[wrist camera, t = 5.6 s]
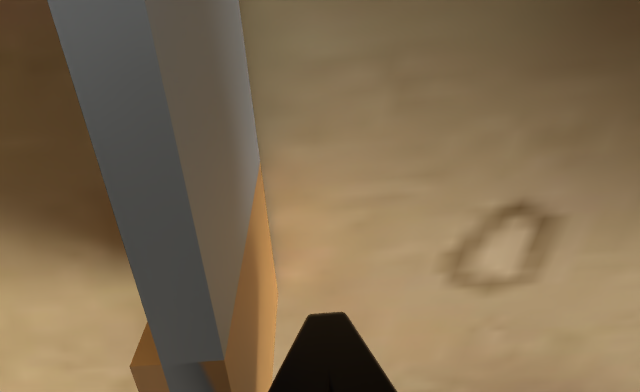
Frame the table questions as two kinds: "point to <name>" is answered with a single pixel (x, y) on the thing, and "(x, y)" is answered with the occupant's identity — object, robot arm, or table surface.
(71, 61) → the side door
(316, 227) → the table surface
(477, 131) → the table surface
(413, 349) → the table surface
